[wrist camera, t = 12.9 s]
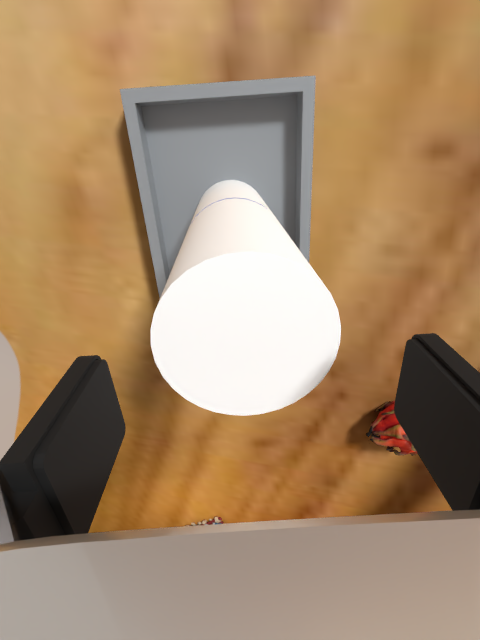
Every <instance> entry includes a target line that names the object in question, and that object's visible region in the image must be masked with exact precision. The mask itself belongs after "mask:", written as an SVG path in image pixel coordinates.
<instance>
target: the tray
mask: <svg viewBox="0 0 480 640" xmlns="http://www.w3.org/2000/svg"><path fill="white" fill-rule="evenodd" d="M120 92H121V98H122V103H123V108H124V113H125V119H126V124H127V129H128V134H129V140H130V145H131V150H132V155H133V161H134V166H135V171H136V176H137V182H138V187H139V192H140V197H141V203H142V208H143V213H144V218H145V224H146V229H147V234H148V239H149V245H150V250H151V255H152V260H153V266H154V271H155V276H156V281H157V287H158V292H159V297H161V295H162V292H163V290H164V288H165V285H166V283H167V280H168V278H169V275H170V273H171V270H172V268H173V265H174V263H175V261H176V258H177V256H178V253H179V251H180V248H181V246H182V243H183V241H184V238H185V236H186V233H187V231H188V229H189V226H190V224H191V221H192V219H193V216H194V214H195V211H196V209H197V206H198V204H199V202H200V199H201V197H202V196H203V194H204V193H205V192H206V191H207V190H208V189H209V188H210V187H211V186H213V185H214V184H216V183H218V182H221V181H224V180H238V181H241V182H244V183H246V184H248V185H250V186H251V187H252V188H253V189H255V190H256V191H257V193H258V194H259V195H260V197H261V198H262V199H263V201H264V202H265V203H266V205H267V206H268V207H269V209H270V210H271V212H272V213H273V214H274V216H275V217H276V218H277V220H278V221H279V223H280V224H281V225H282V227H283V228H284V230H285V231H286V232H287V234H288V235H289V236H290V238H291V239H292V241H293V242H294V243H295V245H296V246H297V248H298V249H299V250H300V252H301V253H302V254H303V256H304V257H305V259H306V260H307V261H308V263H309V248H310V219H311V190H312V162H313V133H314V104H315V76H305V77H290V78H276V79H261V80H247V81H232V82H217V83H203V84H188V85H174V86H159V87H144V88H130V89H120Z"/></svg>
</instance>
